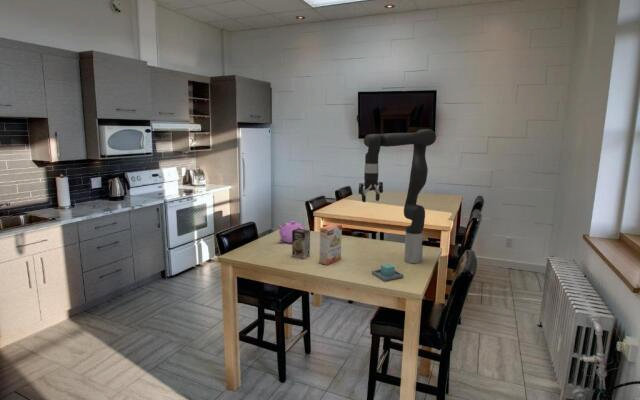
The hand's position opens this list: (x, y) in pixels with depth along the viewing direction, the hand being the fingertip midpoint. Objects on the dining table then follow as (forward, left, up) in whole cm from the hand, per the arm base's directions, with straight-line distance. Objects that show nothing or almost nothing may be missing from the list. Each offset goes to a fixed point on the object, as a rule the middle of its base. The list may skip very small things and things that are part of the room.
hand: (370, 201), depth 212 cm
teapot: (+23, -61, -36) cm, 75 cm away
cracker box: (+17, -14, -36) cm, 42 cm away
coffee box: (+29, -29, -36) cm, 55 cm away
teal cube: (+1, +19, -36) cm, 40 cm away
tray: (+1, +19, -36) cm, 41 cm away
